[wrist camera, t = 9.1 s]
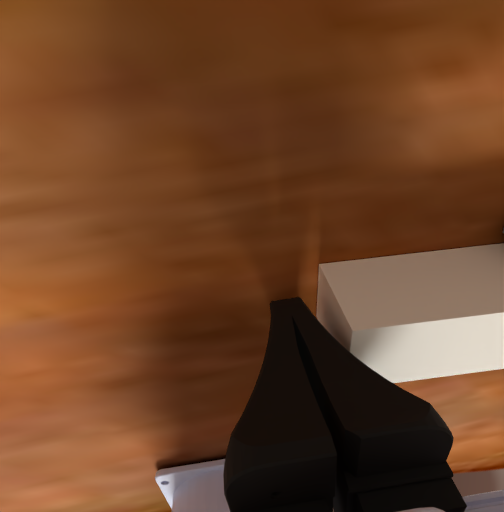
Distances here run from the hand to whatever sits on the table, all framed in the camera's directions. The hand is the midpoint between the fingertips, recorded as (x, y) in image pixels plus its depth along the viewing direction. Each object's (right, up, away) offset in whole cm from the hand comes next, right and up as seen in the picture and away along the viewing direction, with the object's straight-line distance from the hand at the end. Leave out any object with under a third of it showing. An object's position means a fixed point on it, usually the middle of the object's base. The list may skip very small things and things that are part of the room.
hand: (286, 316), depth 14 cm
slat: (+7, +2, +1) cm, 8 cm away
